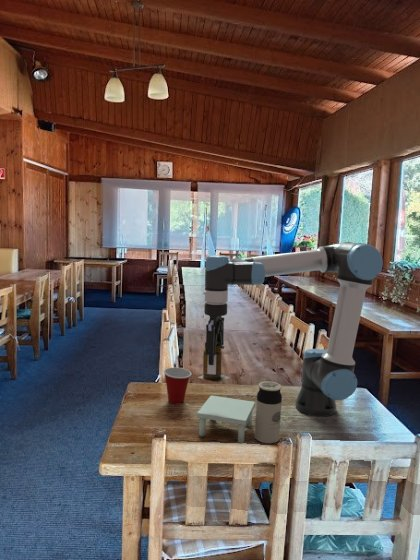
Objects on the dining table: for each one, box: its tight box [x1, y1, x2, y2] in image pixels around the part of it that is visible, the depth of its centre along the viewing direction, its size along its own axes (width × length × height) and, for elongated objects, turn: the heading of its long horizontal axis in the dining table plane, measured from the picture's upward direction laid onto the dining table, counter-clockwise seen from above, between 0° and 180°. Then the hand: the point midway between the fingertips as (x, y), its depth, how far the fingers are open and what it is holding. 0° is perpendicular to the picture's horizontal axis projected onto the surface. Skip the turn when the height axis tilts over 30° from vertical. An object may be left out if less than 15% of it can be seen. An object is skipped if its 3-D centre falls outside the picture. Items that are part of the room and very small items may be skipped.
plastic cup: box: [163, 366, 192, 405], centre depth 173 cm, size 11×11×12 cm
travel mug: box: [254, 381, 283, 444], centre depth 145 cm, size 8×8×18 cm
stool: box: [196, 395, 256, 444], centre depth 150 cm, size 16×16×8 cm
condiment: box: [197, 341, 231, 384], centre depth 149 cm, size 7×8×12 cm
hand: (214, 370), depth 150 cm, fingers closed on condiment, 6 cm apart
